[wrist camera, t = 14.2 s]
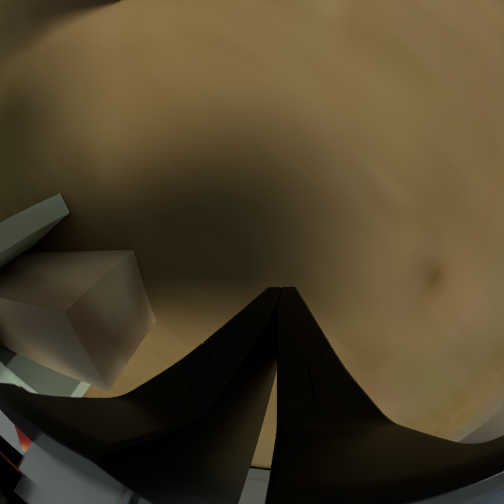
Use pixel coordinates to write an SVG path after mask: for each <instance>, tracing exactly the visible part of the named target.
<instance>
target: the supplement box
mask: <svg viewBox="0 0 504 504" xmlns="http://www.w3.org/2000/svg"><path fill="white" fill-rule="evenodd" d="M269 476H270V470H261V469H253V468H250V469H249V472H248V475H247V477H246V482H245V485H244V488H243V491H242V494H241V497H240V500H239V503H238V504H265V499H266V493H267V487H268V482H269Z"/></svg>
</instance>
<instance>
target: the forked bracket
mask: <svg viewBox="0 0 504 504" xmlns="http://www.w3.org/2000/svg"><path fill="white" fill-rule="evenodd" d="M69 213H70V212H69V210H68V208H67V206H66V204H65V202H64V200H63V198H62V196H61V194H60V193H59V194H57V195H55V196H53V197H50V198H48V199H46V200H44V201H42V202H40V203H38V204H35V205H33V206H31V207H29V208H27V209H25V210H23V211H21V212H19V213H17V214H15V215H13V216H11V217H10V218H8V219H6V220H4V221H2V222H0V268H1V267H3V266H4V265H5V264H7V263H8V262H10V261H11V260H13V259H14V258H15V257H17V256H18V255H20V254H21V253H23V252H24V251H26V250H27V249H29V248H31V247H32V246H34V245H35V244H36V243H37V242H38V241H39V240H40V239H41V238H42V237H43V236H45V235H46V234H47V233H48V232H49V231H50V230H51V229H52V228H53V227H54V226H55V225H56V224H57V223H58V222H60V221H61V220H62V219H63V218H64V217H65V216H66V215H67V214H69ZM0 383H13V384H15V385H17V386H19V385H21V386H22V387H23V388H25V389H26V390H27V391H29V392H32V393H36V394H42V395H51V396H64V397H82V396H83V395H84V394H85V392H86V391H87V389H88V388H89V386H90V385H91V384H88V383H86V382H83V381H80V380H77V379H75V378H72V377H69V376H67V375H64V374H62V373H59V372H57V371H55V370H52V369H50V368H47V367H45V366H43V365H41V364H38V363H36V362H34V361H32V360H30V359H28V358H26V357H24V356H22V355H20V354H18V353H16V352H14V351H12V350H10V349H8V348H6V347H4V346H2V345H0Z"/></svg>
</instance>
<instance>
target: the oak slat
mask: <svg viewBox="0 0 504 504" xmlns="http://www.w3.org/2000/svg"><path fill="white" fill-rule="evenodd" d="M155 321H156V319H155V317H154V314H153V311H152V308H151V305H150V302H149V299H148V296H147V293H146V290H145V287H144V284H143V280H142V277H141V274H140V271H139V267H138V264H137V260H136V257H135V253H134V250H114V251H81V252H49V253H21V254H20V255H18V256H17V257H15V258H14V259H13V260H11V261H10V262H8V263H7V264H5V265H4V266H3V267H1V268H0V345H2V346H4V347H6V348H8V349H10V350H12V351H14V352H16V353H18V354H20V355H22V356H24V357H26V358H28V359H30V360H32V361H34V362H36V363H38V364H41V365H43V366H45V367H47V368H50V369H52V370H55V371H57V372H59V373H62V374H64V375H67V376H69V377H72V378H75V379H77V380H80V381H83V382H86V383H88V384H91V385H94V386H97V387H100V388H103V389H106V390H110V388H111V387H112V385H113V384H114V382H115V381H116V379H117V378H118V376H119V375H120V373H121V372H122V370H123V369H124V367H125V366H126V364H127V363H128V361H129V360H130V358H131V357H132V355H133V354H134V352H135V351H136V349H137V348H138V346H139V345H140V343H141V342H142V340H143V339H144V337H145V336H146V334H147V333H148V331H149V330H150V329H151V327H152V326H153V324H154V323H155Z"/></svg>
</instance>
